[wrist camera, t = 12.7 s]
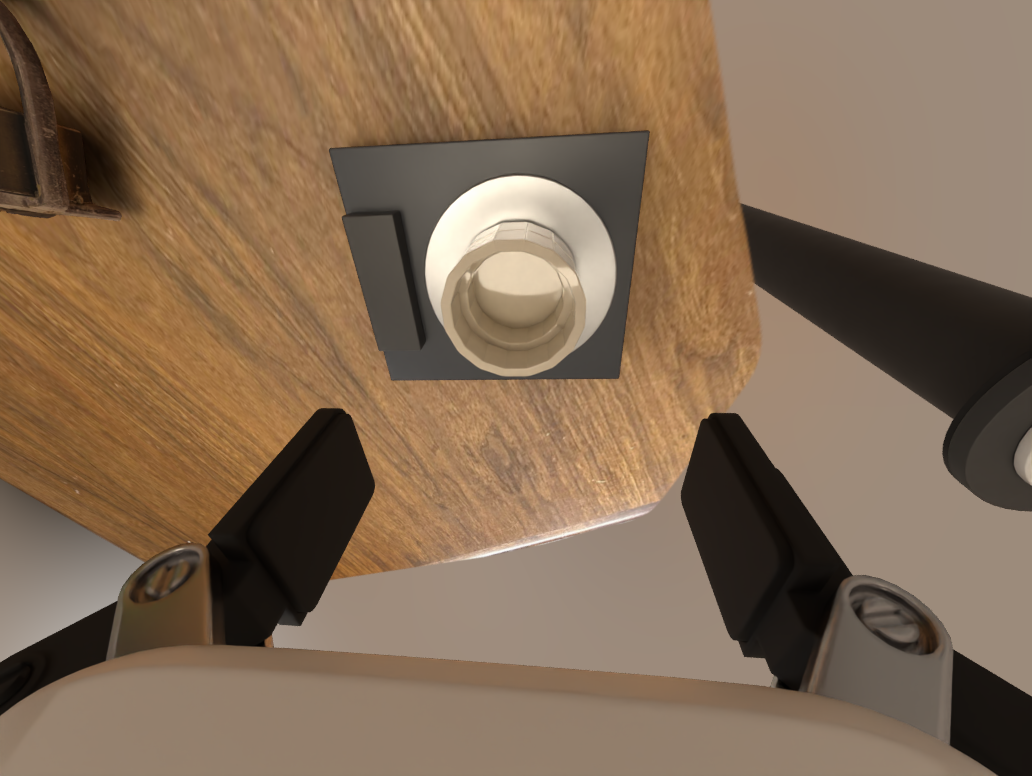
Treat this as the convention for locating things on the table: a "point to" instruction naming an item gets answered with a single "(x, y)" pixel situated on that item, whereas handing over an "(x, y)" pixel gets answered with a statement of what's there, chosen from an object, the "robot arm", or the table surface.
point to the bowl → (514, 300)
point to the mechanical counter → (39, 144)
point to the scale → (476, 208)
